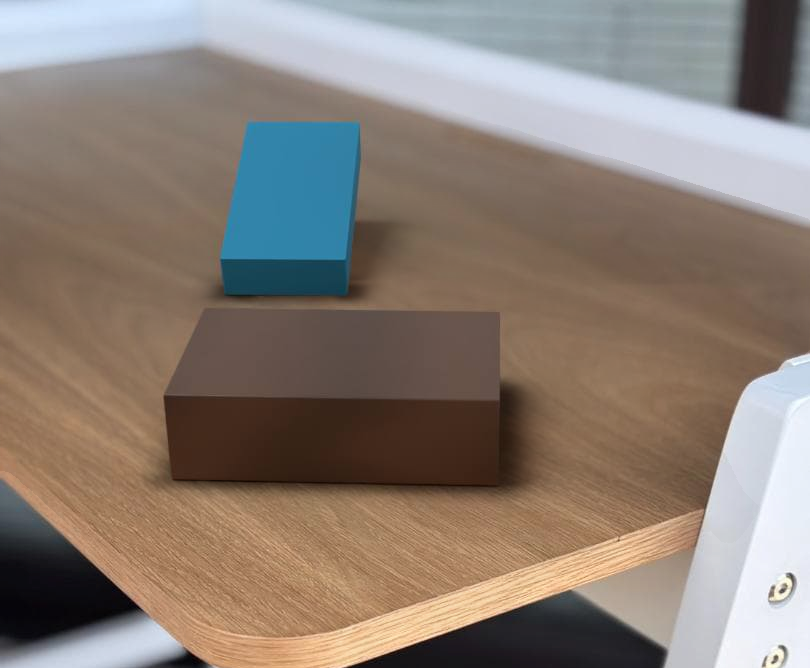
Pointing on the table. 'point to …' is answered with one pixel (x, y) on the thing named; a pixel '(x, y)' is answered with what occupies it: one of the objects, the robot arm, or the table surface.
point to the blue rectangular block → (293, 210)
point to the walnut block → (337, 397)
